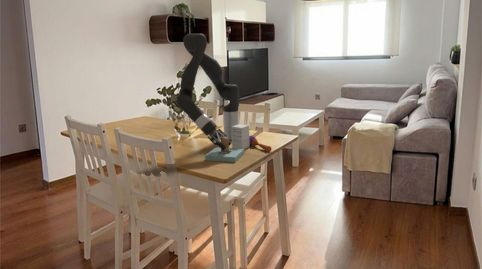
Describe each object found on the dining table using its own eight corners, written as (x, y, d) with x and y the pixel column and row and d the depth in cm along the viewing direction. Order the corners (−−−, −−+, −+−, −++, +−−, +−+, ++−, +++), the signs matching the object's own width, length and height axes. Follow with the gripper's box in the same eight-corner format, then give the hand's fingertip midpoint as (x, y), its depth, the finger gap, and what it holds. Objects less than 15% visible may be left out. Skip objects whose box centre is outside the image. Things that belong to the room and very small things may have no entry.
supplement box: (239, 145, 224) (238, 123, 221) (250, 147, 219) (249, 125, 216) (231, 148, 218) (231, 126, 215) (242, 150, 214) (241, 127, 211)
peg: (222, 155, 204) (222, 136, 202) (230, 155, 203) (229, 137, 201) (220, 157, 200) (219, 138, 198) (227, 158, 199) (227, 139, 197)
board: (215, 151, 211) (215, 147, 211) (244, 153, 207) (244, 148, 206) (205, 160, 196) (205, 155, 196) (235, 162, 192) (235, 157, 191)
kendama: (263, 146, 206) (243, 136, 222) (265, 156, 208) (244, 145, 225) (272, 142, 209) (251, 133, 225) (274, 152, 211) (253, 142, 227)
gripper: (205, 122, 193) (227, 145, 192) (215, 117, 206) (236, 139, 205) (195, 132, 195) (218, 155, 195) (206, 126, 209) (227, 148, 208)
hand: (227, 147), depth 200 cm, fingers open, 8 cm apart
